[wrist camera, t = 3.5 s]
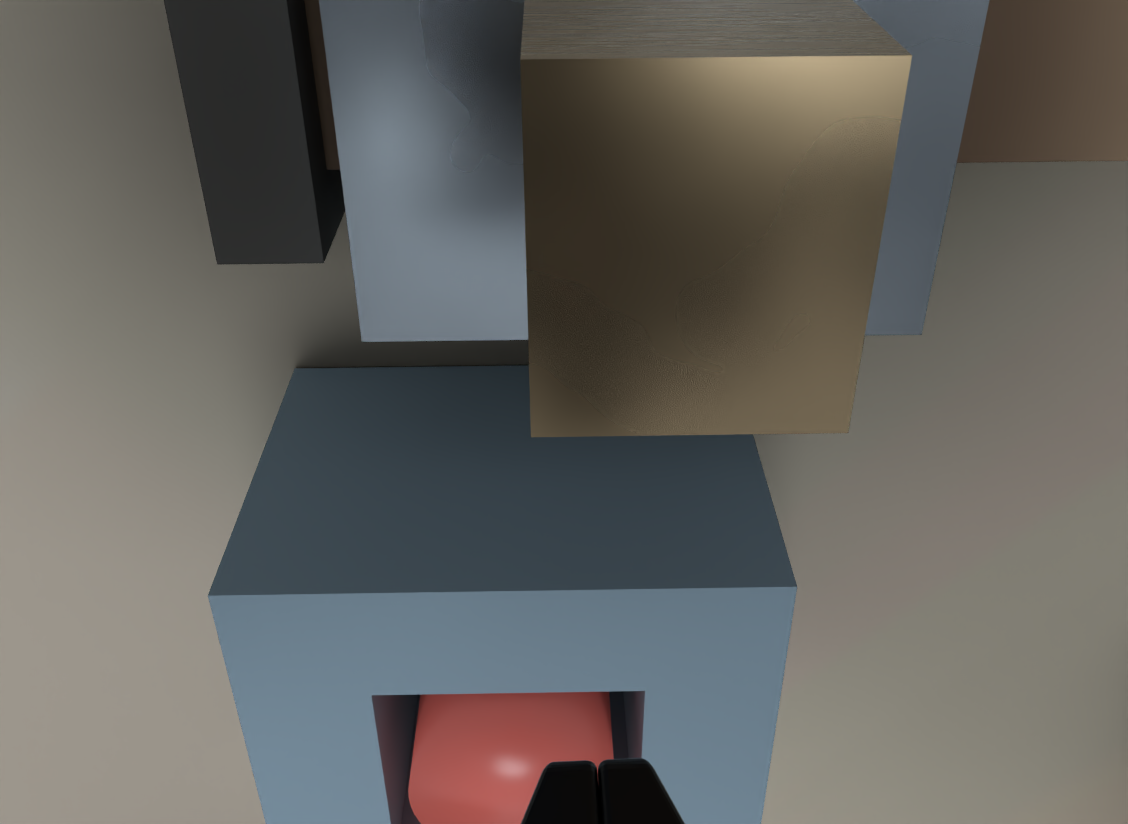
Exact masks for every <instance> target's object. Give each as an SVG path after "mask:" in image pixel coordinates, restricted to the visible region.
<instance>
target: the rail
mask: <svg viewBox="0 0 1128 824" xmlns="http://www.w3.org/2000/svg"><path fill="white" fill-rule="evenodd" d="M164 3H165V8H166V13H167V18H168V23H169V28H170V33H171V38H172V43H173V48H174V53H175V58H176V63H177V68H178V73H179V78H180V83H181V88H182V93H183V97H184V102H185V107H186V112H187V117H188V122H189V127H190V132H191V137H192V142H193V147H194V152H195V157H196V162H197V167H198V172H199V177H200V182H201V187H202V191H203V196H204V201H205V206H206V211H207V216H208V221H209V226H210V231H211V236H212V241H213V246H214V251H215V256H216V261H217V264H291V263H324V261H325V259H326V256H327V254H328V251H329V249H330V246H331V244H332V242H333V239H334V237H335V234H336V232H337V229H338V227H339V224H340V222H341V219H342V217H343V214H344V212H345V203H344V195H343V187H342V180H341V172H340V164H339V156H338V148H337V140H336V132H335V124H334V116H333V108H332V100H331V92H330V84H329V76H328V68H327V61H326V53H325V45H324V37H323V29H322V21H321V13H320V5H319V0H164ZM1058 161H1128V0H989V5H988V10H987V15H986V20H985V25H984V30H983V35H982V40H981V45H980V50H979V55H978V59H977V64H976V69H975V74H974V79H973V84H972V89H971V94H970V99H969V104H968V109H967V114H966V119H965V123H964V128H963V133H962V138H961V143H960V148H959V153H958V158H957V163H970V162H1058Z"/></svg>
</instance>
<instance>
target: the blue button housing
mask: <svg viewBox="0 0 1128 824" xmlns="http://www.w3.org/2000/svg"><path fill="white" fill-rule="evenodd" d="M796 591H797V585H796V581H795V578H794V574H793V571H792V568H791V564H790V561H789V557H788V554H787V550H786V547H785V543H784V540H783V537H782V533H781V530H780V526H779V523H778V519H777V516H776V512H775V509H774V506H773V502H772V499H771V495H770V492H769V488H768V485H767V482H766V478H765V475H764V471H763V468H762V464H761V461H760V457H759V454H758V451H757V447H756V444H755V440H754V437H753V434H735V435H662V436H589V437H531V421H530V385H529V365H525V366H448V367H372V368H295V369H294V372H293V375H292V377H291V380H290V383H289V385H288V388H287V390H286V393H285V396H284V398H283V401H282V403H281V406H280V409H279V411H278V414H277V416H276V419H275V422H274V424H273V427H272V430H271V432H270V435H269V437H268V440H267V443H266V445H265V448H264V450H263V453H262V456H261V458H260V461H259V463H258V466H257V469H256V471H255V474H254V477H253V479H252V482H251V484H250V487H249V490H248V492H247V495H246V497H245V500H244V503H243V505H242V508H241V511H240V513H239V516H238V518H237V521H236V524H235V526H234V529H233V531H232V534H231V537H230V539H229V542H228V544H227V547H226V550H225V552H224V555H223V558H222V560H221V563H220V565H219V568H218V571H217V573H216V576H215V578H214V581H213V584H212V586H211V589H210V591H209V594H208V598H209V602H210V606H211V610H212V614H213V618H214V622H215V626H216V629H217V633H218V637H219V641H220V645H221V649H222V653H223V657H224V661H225V665H226V669H227V673H228V676H229V680H230V684H231V688H232V692H233V696H234V700H235V704H236V708H237V712H238V716H239V720H240V724H241V727H242V731H243V735H244V739H245V743H246V747H247V751H248V755H249V759H250V763H251V767H252V771H253V774H254V778H255V782H256V786H257V790H258V794H259V798H260V802H261V806H262V810H263V814H264V818H265V822H266V824H421V823H420V822H419V820H418V819H417V818H416V816H415V815H414V812H413V810H412V808H411V805H410V801H409V794H408V788H409V780H410V772H411V764H412V756H413V748H414V740H415V732H416V724H417V717H418V709H419V701H420V695H423V694H485V693H547V692H609V697H610V712H611V727H612V742H613V757H614V759H628V758H643V759H645V760H647V761H648V762H649V763H650V764H651V765H652V766H653V768H654V769H655V771H656V773H657V775H658V776H659V778H660V780H661V782H662V783H663V785H664V787H665V789H666V791H667V792H668V794H669V796H670V798H671V800H672V801H673V803H674V805H675V807H676V808H677V810H678V812H679V814H680V816H681V817H682V819H683V821H684V823H685V824H761V820H762V813H763V807H764V800H765V794H766V787H767V781H768V774H769V768H770V761H771V754H772V748H773V741H774V735H775V728H776V722H777V715H778V709H779V702H780V695H781V689H782V682H783V676H784V669H785V663H786V656H787V650H788V643H789V636H790V630H791V623H792V617H793V610H794V604H795V597H796Z"/></svg>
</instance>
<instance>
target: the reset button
mask: <svg viewBox="0 0 1128 824" xmlns="http://www.w3.org/2000/svg"><path fill="white" fill-rule="evenodd" d="M607 759H614V757H613V742H612V727H611V712H610V697H609V692H547V693H485V694H423V695H420V701H419V709H418V717H417V724H416V732H415V740H414V748H413V756H412V764H411V772H410V780H409V788H408V794H409V801H410V805H411V808H412V810H413V812H414V815H415V816H416V818H417V819H418V820H419V822H420V823H421V824H521V822H522V819H523V817H524V814H525V812H526V810H527V807H528V805H529V802H530V800H531V797H532V795H533V793H534V790H535V788H536V785H537V783H538V780H539V778H540V776H541V773H542V771H543V770H544V768H545V767H546V766H547V765H548V764H549V763H551V762H557V761H581V760H588V761H591V762H593V763H594V764H595V765H596V767H597V773H598V766H599V764H600V763H601V762H602V761H603V760H607Z"/></svg>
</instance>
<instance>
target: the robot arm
mask: <svg viewBox="0 0 1128 824" xmlns="http://www.w3.org/2000/svg"><path fill="white" fill-rule="evenodd" d="M521 824H685V823H684V821H683V819H682V817H681V816H680V814H679V812H678V810H677V808H676V807H675V805H674V803H673V801H672V800H671V798H670V796H669V794H668V792H667V791H666V789H665V787H664V785H663V783H662V782H661V780H660V778H659V776H658V775H657V773H656V771H655V769H654V768H653V766H652V765H651V764H650V763H649V762H648V761H647V760H645V759H643V758H628V759H607V760H603V761H602V762H601V763H600V764H599V766H598V773H597V767H596V765H595V764H594V763H593V762H591V761H588V760H581V761H557V762H551V763H549V764H548V765H547V766H546V767H545V768H544V770H543V771H542V773H541V776H540V778H539V780H538V783H537V785H536V788H535V790H534V793H533V795H532V797H531V800H530V802H529V805H528V807H527V810H526V812H525V814H524V817H523V819H522V822H521Z"/></svg>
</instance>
